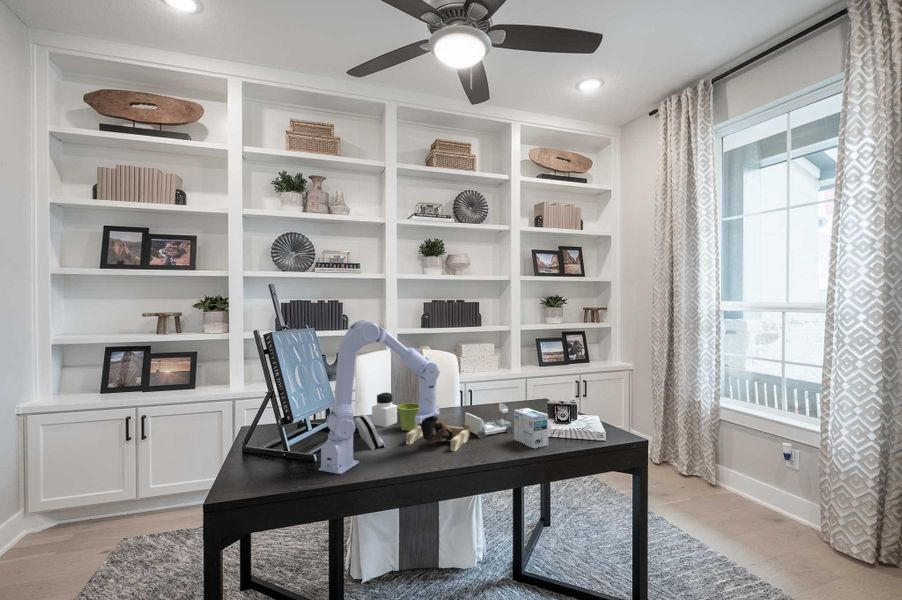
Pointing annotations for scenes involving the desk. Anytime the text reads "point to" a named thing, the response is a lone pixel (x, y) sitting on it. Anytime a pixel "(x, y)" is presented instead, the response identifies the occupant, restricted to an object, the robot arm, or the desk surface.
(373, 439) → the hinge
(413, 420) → the plant pot
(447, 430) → the pottery mug
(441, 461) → the desk surface
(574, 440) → the desk surface
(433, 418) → the robot arm
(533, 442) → the light bulb box
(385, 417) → the medicine bottle
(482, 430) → the toy car
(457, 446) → the cradle
